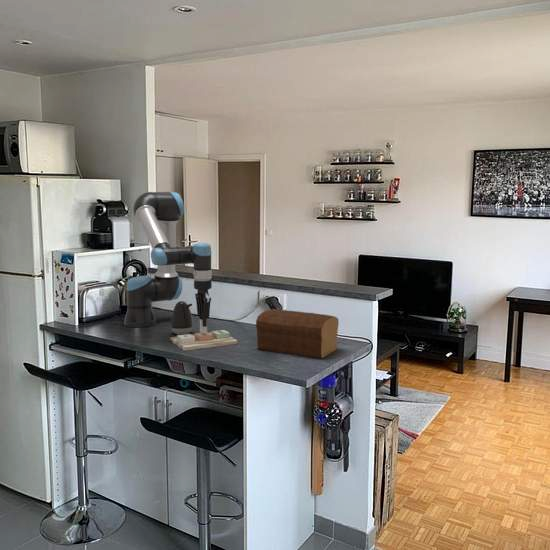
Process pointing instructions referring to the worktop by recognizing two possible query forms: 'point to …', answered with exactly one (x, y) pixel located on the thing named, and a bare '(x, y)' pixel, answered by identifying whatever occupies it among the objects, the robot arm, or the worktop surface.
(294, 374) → the worktop surface
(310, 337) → the bread
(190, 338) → the tile one
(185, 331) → the pump dispenser
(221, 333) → the tile three
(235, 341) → the board
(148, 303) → the robot arm
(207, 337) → the tile two
